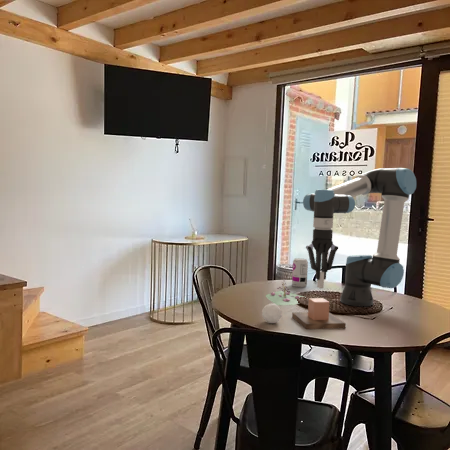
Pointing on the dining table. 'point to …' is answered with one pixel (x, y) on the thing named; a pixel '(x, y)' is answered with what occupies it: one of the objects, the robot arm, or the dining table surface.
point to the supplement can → (300, 272)
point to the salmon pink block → (318, 309)
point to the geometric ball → (271, 313)
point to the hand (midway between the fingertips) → (320, 287)
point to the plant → (283, 297)
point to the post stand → (318, 321)
